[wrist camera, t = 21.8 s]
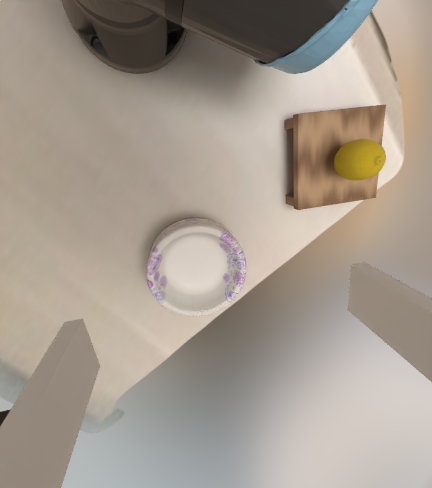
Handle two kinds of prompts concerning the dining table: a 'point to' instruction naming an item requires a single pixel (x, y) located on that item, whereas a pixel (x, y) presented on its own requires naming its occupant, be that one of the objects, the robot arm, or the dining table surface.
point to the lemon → (359, 159)
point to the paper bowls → (195, 267)
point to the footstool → (330, 155)
